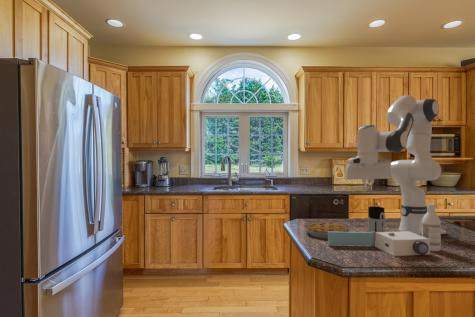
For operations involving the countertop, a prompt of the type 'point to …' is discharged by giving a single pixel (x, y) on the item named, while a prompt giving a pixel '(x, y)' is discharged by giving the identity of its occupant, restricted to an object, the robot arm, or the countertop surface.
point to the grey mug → (376, 219)
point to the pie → (324, 229)
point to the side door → (351, 238)
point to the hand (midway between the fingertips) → (368, 188)
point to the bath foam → (432, 228)
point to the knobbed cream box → (402, 243)
